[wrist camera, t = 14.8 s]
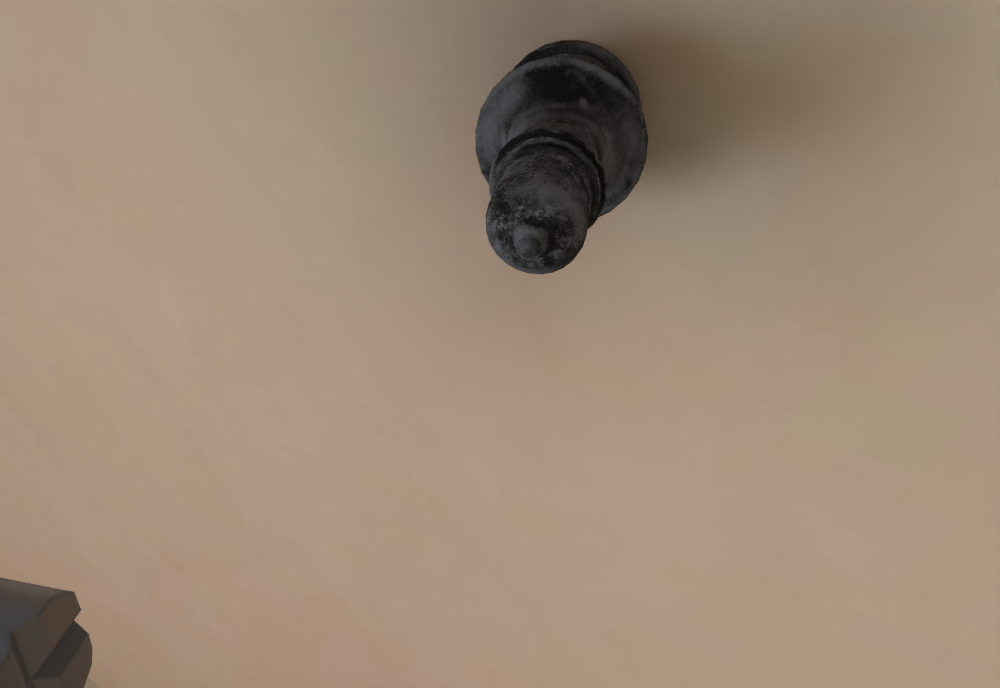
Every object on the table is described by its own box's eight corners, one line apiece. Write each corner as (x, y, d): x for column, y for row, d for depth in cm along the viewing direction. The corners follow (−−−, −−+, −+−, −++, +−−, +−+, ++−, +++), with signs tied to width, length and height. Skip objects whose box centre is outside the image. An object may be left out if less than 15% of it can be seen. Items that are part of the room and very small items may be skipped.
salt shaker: (552, 214, 34) (506, 385, 24) (461, 95, 33) (370, 226, 22) (680, 132, 32) (687, 284, 22) (589, -4, 30) (551, 96, 20)
